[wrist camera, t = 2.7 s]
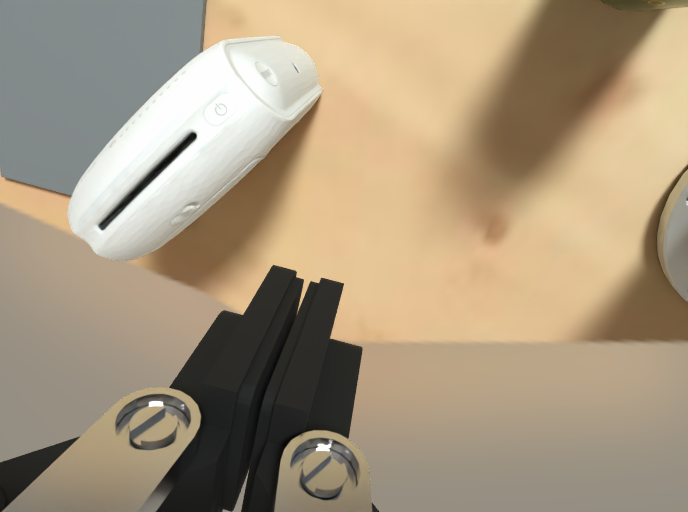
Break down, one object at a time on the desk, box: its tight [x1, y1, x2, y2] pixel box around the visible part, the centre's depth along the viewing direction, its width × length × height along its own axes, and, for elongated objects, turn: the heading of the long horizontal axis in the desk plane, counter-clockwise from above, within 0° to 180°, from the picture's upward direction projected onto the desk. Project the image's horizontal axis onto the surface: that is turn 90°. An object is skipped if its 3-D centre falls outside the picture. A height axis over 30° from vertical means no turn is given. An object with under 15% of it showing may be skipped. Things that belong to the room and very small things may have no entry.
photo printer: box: [68, 36, 323, 261], centre depth 21 cm, size 10×4×12 cm, turn 130°
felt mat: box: [0, 0, 206, 196], centre depth 27 cm, size 13×16×1 cm
